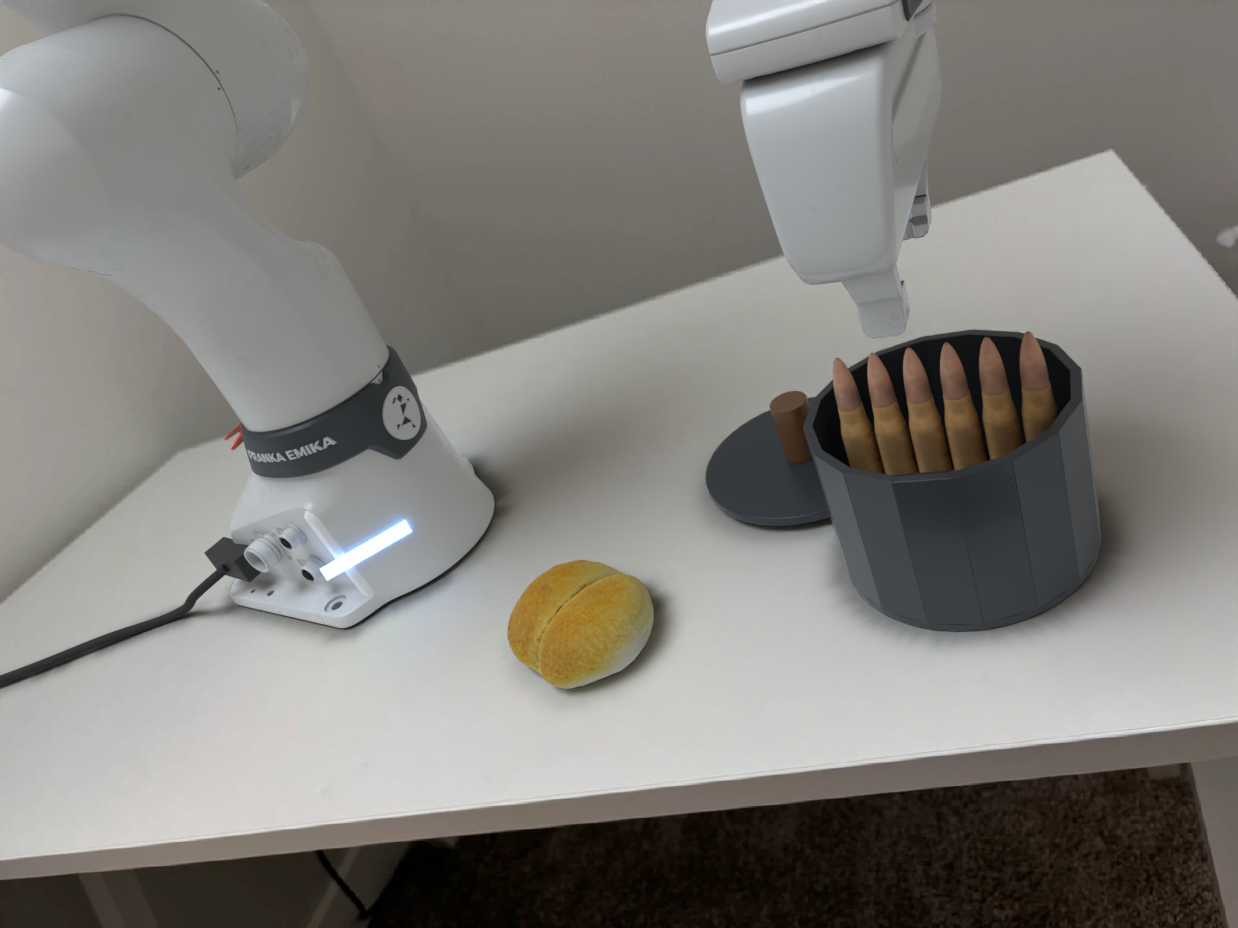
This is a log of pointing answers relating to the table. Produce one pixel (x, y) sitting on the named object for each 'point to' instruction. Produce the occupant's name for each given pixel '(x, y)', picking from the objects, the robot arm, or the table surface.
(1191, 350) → the table surface
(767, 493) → the lid
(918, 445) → the ammunition clip
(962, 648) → the table surface
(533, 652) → the bread roll
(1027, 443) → the pot
